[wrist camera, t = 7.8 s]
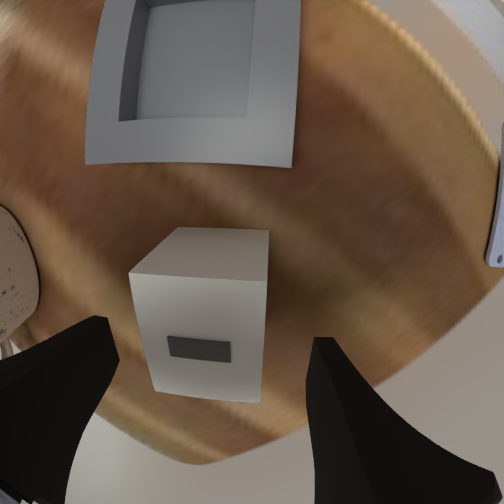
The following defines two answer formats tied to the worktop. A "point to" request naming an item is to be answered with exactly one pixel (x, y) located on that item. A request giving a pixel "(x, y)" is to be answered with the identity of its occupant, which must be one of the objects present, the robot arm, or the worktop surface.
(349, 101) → the worktop surface
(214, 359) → the block
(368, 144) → the worktop surface
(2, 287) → the teacup with lid
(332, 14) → the worktop surface
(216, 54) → the grey divided tray
